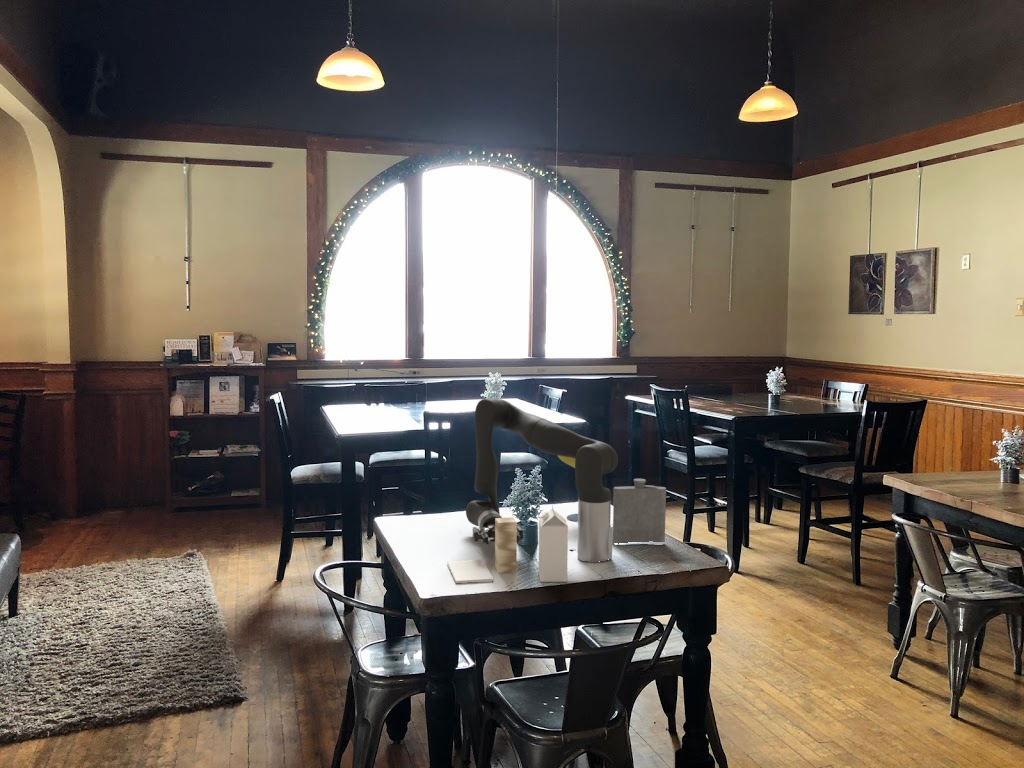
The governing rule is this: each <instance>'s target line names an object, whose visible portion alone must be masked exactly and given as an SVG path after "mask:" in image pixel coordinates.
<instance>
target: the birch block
mask: <svg viewBox="0 0 1024 768" xmlns="http://www.w3.org/2000/svg"><path fill="white" fill-rule="evenodd" d="M517 522H518V521H517V520H516V519H515V518H514V517H513V516H510V517H502V518H495V541H494V569H495V571H496V572H497V573H498V574H512V572H515V573H517V545H518V543H517V525H518V523H517Z"/></svg>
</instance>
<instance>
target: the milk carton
mask: <svg viewBox="0 0 1024 768" xmlns="http://www.w3.org/2000/svg"><path fill="white" fill-rule="evenodd" d="M551 505H552V504H551ZM551 508H552V509H550V510H549V511H548V512H547V511H545V512H544V513H542V514H541V516H540V519H539V520H538V577H539V582H540V583H552V582H553V583H560V582H561V583H564V582H565V583H566V582H568V550H569V549H568V548H569V547H568V545H569V544H568V542H569V540H568V539H569V533H568V532H569V527H568V523H567V521H566V519H565V518H564V517H563V516H562V515H561V514H559V513H558V512H557V511H556V510H555V508H554V505H552V506H551Z"/></svg>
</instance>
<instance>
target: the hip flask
mask: <svg viewBox="0 0 1024 768" xmlns="http://www.w3.org/2000/svg"><path fill="white" fill-rule="evenodd" d="M646 482H647V480H646V479H644V478H634V479H633V483H634V485H632V486H631V485H630V486H614V487H613V509H612V510H613V512H612V513H613V515H612V516H613V517H612V528H613V532H612V544H613V543H618V544H619V543H628V542H649V541H653V542H666V506H667V504H666V501H667V487H665V486H656V485H646V484H645V483H646Z"/></svg>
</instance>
